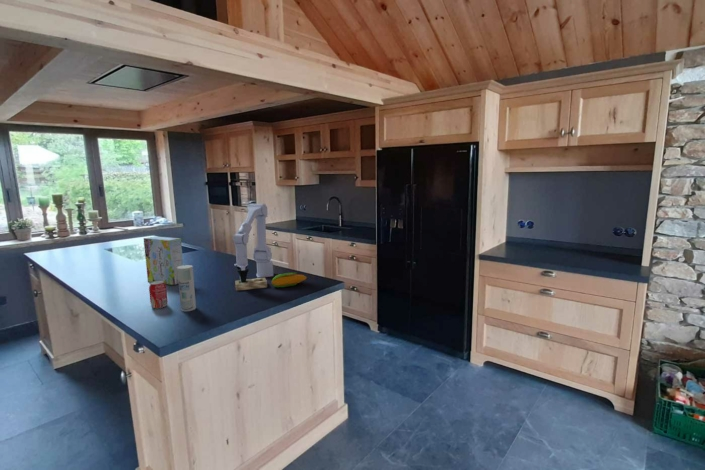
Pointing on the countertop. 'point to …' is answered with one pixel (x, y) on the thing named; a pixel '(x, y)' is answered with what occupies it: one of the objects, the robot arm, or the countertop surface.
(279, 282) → the corn
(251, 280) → the hole block
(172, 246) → the snack box
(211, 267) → the countertop surface
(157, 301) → the soda can
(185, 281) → the spray can
